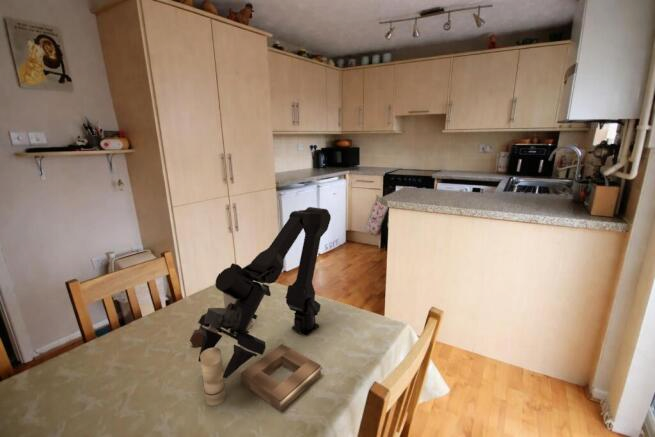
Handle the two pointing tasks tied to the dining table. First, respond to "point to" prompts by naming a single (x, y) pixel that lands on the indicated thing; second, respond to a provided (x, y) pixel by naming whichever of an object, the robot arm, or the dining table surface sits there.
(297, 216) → the robot arm
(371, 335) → the dining table surface
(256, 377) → the socket board
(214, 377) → the peg
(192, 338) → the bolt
